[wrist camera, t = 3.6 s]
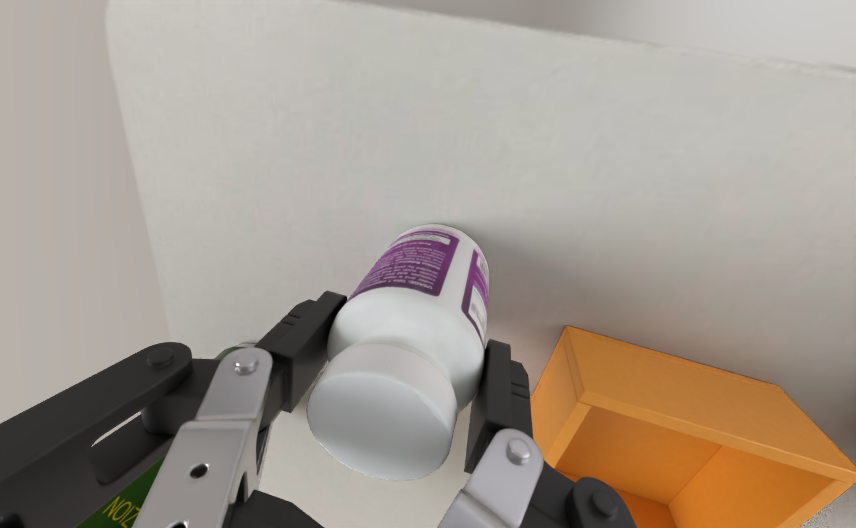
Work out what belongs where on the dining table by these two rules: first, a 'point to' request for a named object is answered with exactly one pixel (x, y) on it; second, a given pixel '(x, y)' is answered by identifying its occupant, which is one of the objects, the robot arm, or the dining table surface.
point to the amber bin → (682, 438)
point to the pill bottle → (404, 356)
